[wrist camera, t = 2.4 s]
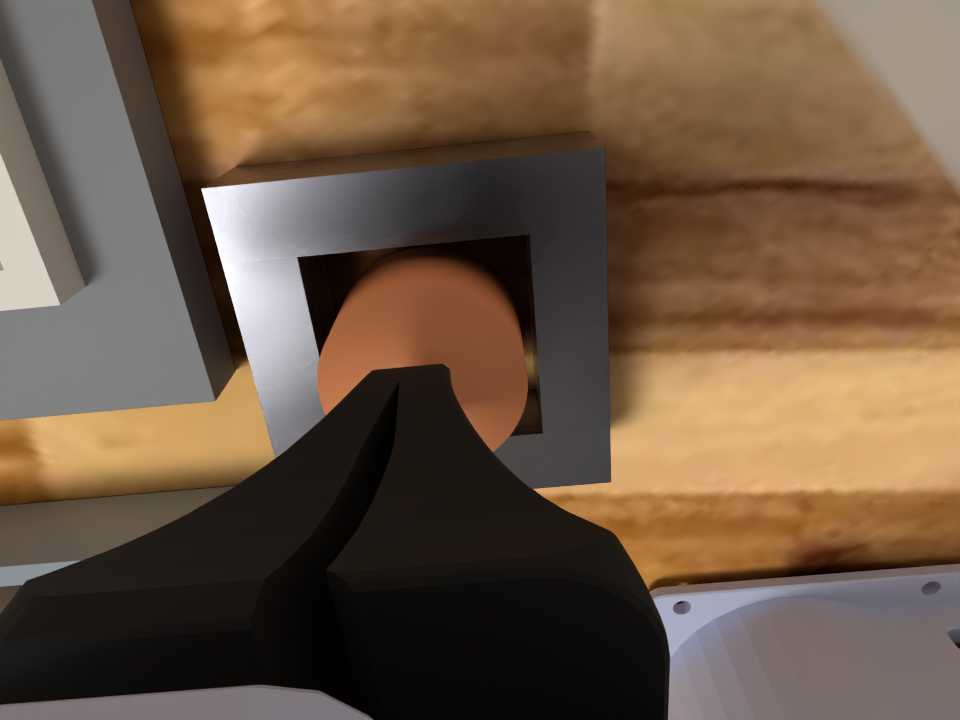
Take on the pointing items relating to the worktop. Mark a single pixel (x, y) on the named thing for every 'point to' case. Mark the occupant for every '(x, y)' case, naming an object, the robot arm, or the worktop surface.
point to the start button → (432, 335)
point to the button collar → (419, 221)
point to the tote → (82, 530)
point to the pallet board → (94, 225)
